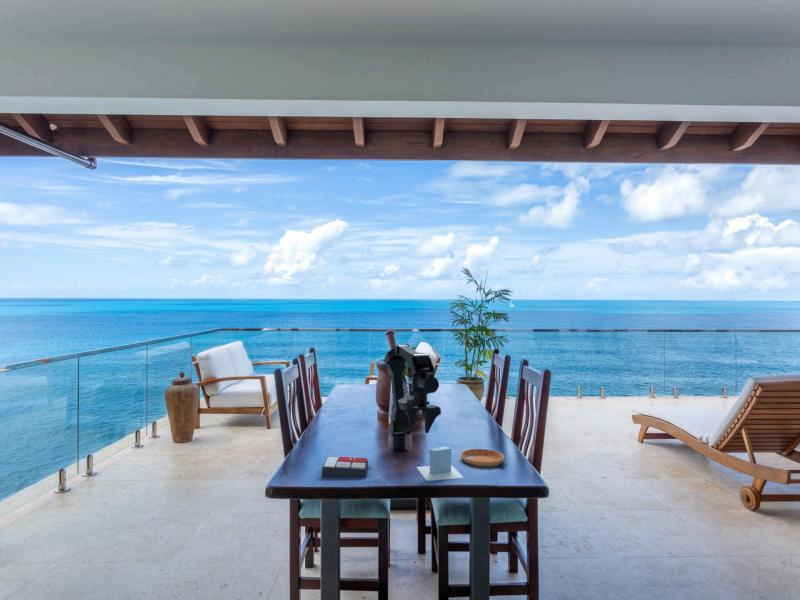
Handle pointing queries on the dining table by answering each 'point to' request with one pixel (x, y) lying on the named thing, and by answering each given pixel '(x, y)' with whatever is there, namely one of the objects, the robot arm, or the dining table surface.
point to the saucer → (482, 457)
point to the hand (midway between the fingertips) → (419, 429)
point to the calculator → (345, 467)
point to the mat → (448, 475)
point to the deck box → (440, 460)
